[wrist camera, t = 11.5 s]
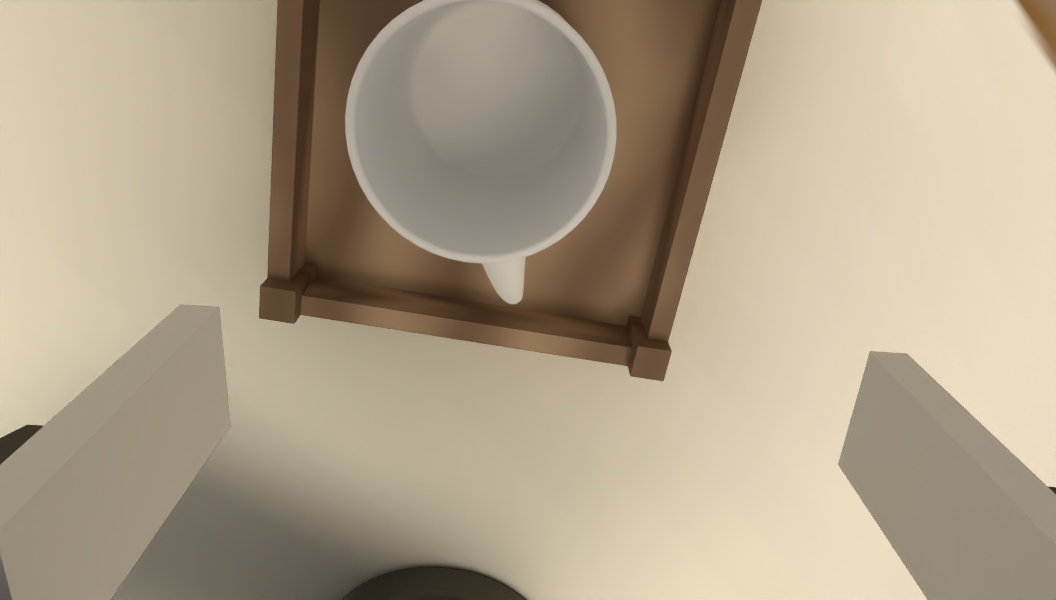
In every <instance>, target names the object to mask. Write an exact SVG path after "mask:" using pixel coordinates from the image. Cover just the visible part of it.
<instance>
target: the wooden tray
mask: <svg viewBox="0 0 1056 600" xmlns="http://www.w3.org/2000/svg"><path fill="white" fill-rule="evenodd" d="M422 1H423V0H278V7H277V35H276V62H275V89H274V116H273V143H272V170H271V198H270V225H269V252H268V278H267V279H266V280H265V282H264V283H263V284H262V285H261V286H260V307H259V318H261V319H267V320H274V321H280V322H287V323H293V324H294V323H295V322H296V321H297V319H298V318H299V316H300V315H305V316H311V317H318V318H324V319H331V320H337V321H343V322H350V323H356V324H363V325H369V326H375V327H382V328H388V329H394V330H401V331H407V332H414V333H420V334H426V335H433V336H439V337H446V338H452V339H458V340H465V341H471V342H477V343H484V344H490V345H497V346H503V347H509V348H516V349H522V350H528V351H535V352H541V353H548V354H554V355H560V356H567V357H573V358H580V359H586V360H592V361H599V362H605V363H611V364H618V365H624V366H628V369H629V373H630V376H633V377H640V378H646V379H652V380H659V381H664V377H665V373H666V370H667V366H668V363H669V359H670V356H671V352H672V351H671V349H670V346H669V343H668V340H669V336H670V333H671V329H672V325H673V322H674V318H675V315H676V311H677V307H678V304H679V300H680V296H681V293H682V289H683V285H684V282H685V278H686V275H687V271H688V267H689V264H690V260H691V256H692V253H693V249H694V245H695V242H696V238H697V235H698V231H699V227H700V224H701V220H702V216H703V213H704V209H705V205H706V202H707V198H708V195H709V191H710V187H711V184H712V180H713V176H714V173H715V169H716V165H717V162H718V158H719V155H720V151H721V147H722V144H723V140H724V136H725V133H726V129H727V125H728V122H729V118H730V115H731V111H732V107H733V104H734V100H735V96H736V93H737V89H738V85H739V82H740V78H741V75H742V71H743V67H744V64H745V60H746V56H747V53H748V49H749V45H750V42H751V38H752V35H753V31H754V27H755V24H756V20H757V16H758V13H759V9H760V5H761V2H762V0H539V1H540V2H542V3H544V4H546V5H548V6H549V7H550V8H551V9H553V10H554V11H555V12H557V13H558V14H559V15H560V16H561V17H562V18H563V19H564V20H565V21H566V22H567V23H568V24H569V25H570V26H571V27H572V28H573V29H574V30H575V31H576V32H577V33H578V34H579V35H580V36H581V37H582V38H583V39H584V41H585V42H586V43H587V45H588V46H589V47H590V48H591V50H592V51H593V53H594V54H595V56H596V58H597V60H598V61H599V63H600V65H601V67H602V68H603V71H604V73H605V76H606V78H607V81H608V83H609V86H610V89H611V93H612V97H613V101H614V106H615V114H616V146H615V154H614V159H613V163H612V166H611V170H610V174H609V176H608V179H607V181H606V184H605V186H604V189H603V191H602V192H601V194H600V196H599V198H598V199H597V201H596V203H595V204H594V206H593V207H592V208H591V210H590V211H589V212H588V214H587V215H586V216H585V218H584V219H583V220H582V221H581V222H580V223H579V224H578V225H577V226H576V227H575V228H574V229H573V230H572V231H571V232H569V233H568V234H567V235H566V236H564V237H563V238H562V239H561V240H559V241H557V242H556V243H554V244H553V245H551V246H549V247H548V248H546V249H544V250H541V251H539V252H537V253H535V254H532V255H530V256H527V257H526V260H525V274H524V290H523V297H522V299H521V301H520V302H519V303H517V304H509V303H507V302H505V301H504V300H503V299H502V298H501V297H500V296H499V295H498V293H497V292H496V290H495V289H494V287H493V285H492V283H491V281H490V279H489V278H488V276H487V273H486V271H485V269H484V267H483V265H482V264H481V263H469V262H462V261H457V260H452V259H448V258H445V257H442V256H439V255H436V254H433V253H431V252H429V251H427V250H425V249H423V248H421V247H418V246H417V245H415V244H414V243H412V242H411V241H409V240H407V239H406V238H404V237H403V236H402V235H400V234H399V233H398V232H397V231H396V230H394V229H393V228H392V227H391V226H390V225H389V224H388V223H387V222H386V221H385V220H384V219H383V218H382V217H381V216H380V215H379V214H378V212H377V211H376V210H375V208H374V207H373V206H372V204H371V203H370V202H369V200H368V199H367V197H366V195H365V193H364V192H363V190H362V188H361V186H360V185H359V182H358V180H357V178H356V175H355V173H354V170H353V168H352V164H351V160H350V157H349V153H348V148H347V141H346V134H345V113H346V105H347V97H348V93H349V89H350V85H351V81H352V78H353V76H354V73H355V71H356V68H357V66H358V64H359V62H360V60H361V58H362V56H363V55H364V53H365V51H366V50H367V48H368V46H369V45H370V44H371V42H372V41H373V40H374V39H375V37H376V36H377V35H378V33H379V32H380V31H381V30H382V29H383V28H384V27H385V26H386V25H388V24H389V23H390V22H391V21H392V20H393V19H394V18H396V17H397V16H398V15H400V14H401V13H402V12H404V11H405V10H407V9H408V8H410V7H412V6H414V5H416V4H418V3H420V2H422Z"/></svg>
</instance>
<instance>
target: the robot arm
mask: <svg viewBox="0 0 1056 600" xmlns="http://www.w3.org/2000/svg"><path fill="white" fill-rule="evenodd" d="M229 427H230V415H229V405H228V394H227V383H226V373H225V362H224V351H223V341H222V330H221V319H220V309H219V307H210V306H195V305H179V306H178V307H177V308H176V309H175V310H174V311H172V312H171V313H170V314H169V315H168V316H167V317H166V318H165V319H164V320H162V321H161V322H160V323H159V324H158V325H157V326H156V327H155V328H153V329H152V330H151V331H150V332H149V333H148V334H147V335H146V336H144V337H143V338H142V339H141V340H140V341H139V342H138V343H137V344H135V345H134V346H133V347H132V348H131V349H130V350H129V351H128V352H126V353H125V354H124V355H123V356H122V357H121V358H120V359H119V360H117V361H116V362H115V363H114V364H113V365H112V366H111V367H110V368H108V369H107V370H106V371H105V372H104V373H103V374H102V375H101V376H99V377H98V378H97V379H96V380H95V381H94V382H93V383H92V384H90V385H89V386H88V387H87V388H86V389H85V390H84V391H83V392H81V393H80V394H79V395H78V396H77V397H76V398H75V399H74V400H72V401H71V402H70V403H69V404H68V405H67V406H66V407H65V408H63V409H62V410H61V411H60V412H59V413H58V414H57V415H56V416H54V417H53V418H52V419H51V420H50V421H49V422H48V423H47V424H45V425H44V426H38V425H26V426H24V427H22V428H20V429H18V430H16V431H14V432H12V433H10V434H8V435H6V436H4V437H2V438H0V600H111V598H112V597H113V595H114V594H115V593H116V591H117V590H118V588H119V587H120V585H121V584H122V582H123V581H124V580H125V578H126V577H127V575H128V574H129V572H130V571H131V569H132V568H133V567H134V565H135V564H136V562H137V561H138V559H139V558H140V556H141V555H142V553H143V552H144V551H145V549H146V548H147V546H148V545H149V543H150V542H151V540H152V539H153V538H154V536H155V535H156V533H157V532H158V530H159V529H160V527H161V526H162V525H163V523H164V522H165V520H166V519H167V517H168V516H169V514H170V513H171V511H172V510H173V509H174V507H175V506H176V504H177V503H178V501H179V500H180V498H181V497H182V496H183V494H184V493H185V491H186V490H187V488H188V487H189V485H190V484H191V483H192V481H193V480H194V478H195V477H196V475H197V474H198V472H199V471H200V469H201V468H202V467H203V465H204V464H205V462H206V461H207V459H208V458H209V456H210V455H211V454H212V452H213V451H214V449H215V448H216V446H217V445H218V443H219V442H220V441H221V439H222V438H223V436H224V435H225V433H226V432H227V430H228V429H229ZM838 465H839V466H840V468H841V469H842V471H843V473H844V474H845V476H846V477H847V479H848V480H849V482H850V483H851V485H852V486H853V488H854V489H855V491H856V492H857V494H858V495H859V497H860V498H861V500H862V501H863V503H864V504H865V506H866V507H867V509H868V510H869V512H870V513H871V515H872V516H873V518H874V519H875V521H876V522H877V524H878V525H879V527H880V528H881V530H882V532H883V533H884V535H885V536H886V538H887V539H888V541H889V542H890V544H891V545H892V547H893V548H894V550H895V551H896V553H897V554H898V556H899V557H900V559H901V560H902V562H903V563H904V565H905V566H906V568H907V569H908V571H909V572H910V574H911V575H912V577H913V578H914V580H915V581H916V583H917V584H918V586H919V587H920V589H921V591H922V592H923V594H924V595H925V597H926V598H927V600H1056V488H1055V487H1047V486H1046V485H1045V484H1044V483H1043V482H1042V481H1041V480H1040V479H1039V478H1038V477H1037V476H1036V475H1035V474H1034V473H1033V472H1032V471H1030V470H1029V469H1028V468H1027V467H1026V466H1025V465H1024V464H1023V463H1022V462H1021V461H1020V460H1019V459H1018V458H1017V457H1016V456H1015V455H1014V454H1012V453H1011V452H1010V451H1009V450H1008V449H1007V448H1006V447H1005V446H1004V445H1003V444H1002V443H1001V442H1000V441H999V440H998V439H997V438H996V437H995V436H993V435H992V434H991V433H990V432H989V431H988V430H987V429H986V428H985V427H984V426H983V425H982V424H981V423H980V422H979V421H978V420H977V419H975V418H974V417H973V416H972V415H971V414H970V413H969V412H968V411H967V410H966V409H965V408H964V407H963V406H962V405H961V404H960V403H959V402H958V401H956V400H955V399H954V398H953V397H952V396H951V395H950V394H949V393H948V392H947V391H946V390H945V389H944V388H943V387H942V386H941V385H940V384H938V383H937V382H936V381H935V380H934V379H933V378H932V377H931V376H930V375H929V374H928V373H927V372H926V371H925V370H924V369H923V368H922V367H921V366H919V365H918V364H917V363H916V362H915V361H914V360H913V359H912V358H911V357H910V356H909V355H908V354H904V353H889V352H874V351H870V353H869V357H868V360H867V364H866V367H865V371H864V374H863V378H862V381H861V385H860V389H859V392H858V396H857V399H856V403H855V406H854V410H853V413H852V417H851V420H850V424H849V428H848V431H847V435H846V438H845V442H844V445H843V449H842V452H841V456H840V459H839V463H838ZM343 600H524V599H523V598H522V597H521V596H519V595H518V594H517V593H515V592H514V591H512V590H511V589H509V588H508V587H506V586H504V585H502V584H500V583H498V582H496V581H494V580H492V579H489V578H487V577H484V576H481V575H478V574H475V573H471V572H467V571H463V570H457V569H450V568H438V567H424V568H412V569H405V570H400V571H395V572H392V573H388V574H385V575H382V576H379V577H377V578H374V579H372V580H370V581H368V582H366V583H364V584H362V585H361V586H359V587H357V588H356V589H355V590H353V591H352V592H350V593H349V594H348V595H347V596H346V597H345V598H344V599H343Z"/></svg>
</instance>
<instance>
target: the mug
mask: <svg viewBox="0 0 1056 600" xmlns="http://www.w3.org/2000/svg"><path fill="white" fill-rule="evenodd" d="M345 134H346V141H347V148H348V153H349V157H350V160H351V164H352V168H353V170H354V173H355V175H356V178H357V180H358V182H359V185H360V186H361V188H362V190H363V192H364V193H365V195H366V197H367V199H368V200H369V202H370V203H371V204H372V206H373V207H374V208H375V210H376V211H377V212H378V214H379V215H380V216H381V217H382V218H383V219H384V220H385V221H386V222H387V223H388V224H389V225H390V226H391V227H392V228H393V229H394V230H396V231H397V232H398V233H399V234H400V235H402V236H403V237H404V238H406V239H407V240H409V241H411V242H412V243H414V244H415V245H417V246H418V247H421V248H423V249H425V250H427V251H429V252H431V253H433V254H436V255H439V256H442V257H445V258H448V259H452V260H457V261H462V262H469V263H481V264H482V265H483V267H484V269H485V271H486V273H487V276H488V278H489V279H490V281H491V283H492V285H493V287H494V289H495V290H496V292H497V293H498V295H499V296H500V297H501V298H502V299H503V300H504V301H505V302H507V303H509V304H517V303H519V302H520V301H521V299H522V297H523V290H524V274H525V260H526V257H527V256H530V255H532V254H535V253H537V252H539V251H541V250H544V249H546V248H548V247H549V246H551V245H553V244H554V243H556V242H557V241H559V240H561V239H562V238H563V237H564V236H566V235H567V234H568V233H569V232H571V231H572V230H573V229H574V228H575V227H576V226H577V225H578V224H579V223H580V222H581V221H582V220H583V219H584V218H585V216H586V215H587V214H588V212H589V211H590V210H591V208H592V207H593V206H594V204H595V203H596V201H597V199H598V198H599V196H600V194H601V192H602V191H603V189H604V186H605V184H606V181H607V179H608V176H609V174H610V170H611V166H612V163H613V159H614V154H615V146H616V114H615V106H614V101H613V97H612V93H611V89H610V86H609V83H608V81H607V78H606V76H605V73H604V71H603V68H602V67H601V65H600V63H599V61H598V60H597V58H596V56H595V54H594V53H593V51H592V50H591V48H590V47H589V46H588V45H587V43H586V42H585V41H584V39H583V38H582V37H581V36H580V35H579V34H578V33H577V32H576V31H575V30H574V29H573V28H572V27H571V26H570V25H569V24H568V23H567V22H566V21H565V20H564V19H563V18H562V17H561V16H560V15H559V14H558V13H557V12H555V11H554V10H553V9H551V8H550V7H549V6H548V5H546V4H544V3H542V2H540V1H539V0H423V1H422V2H420V3H418V4H416V5H414V6H412V7H410V8H408V9H407V10H405V11H404V12H402V13H401V14H400V15H398V16H397V17H396V18H394V19H393V20H392V21H391V22H390V23H389V24H388V25H386V26H385V27H384V28H383V29H382V30H381V31H380V32H379V33H378V35H377V36H376V37H375V39H374V40H373V41H372V42H371V44H370V45H369V46H368V48H367V50H366V51H365V53H364V55H363V56H362V58H361V60H360V62H359V64H358V66H357V68H356V71H355V73H354V76H353V78H352V81H351V85H350V89H349V93H348V97H347V105H346V113H345Z"/></svg>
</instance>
